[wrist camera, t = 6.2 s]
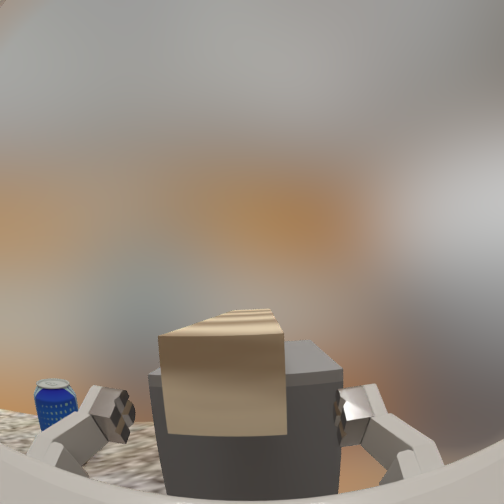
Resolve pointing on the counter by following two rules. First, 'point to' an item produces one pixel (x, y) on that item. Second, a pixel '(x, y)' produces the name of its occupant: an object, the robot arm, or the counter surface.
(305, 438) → the charcoal stand
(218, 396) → the maple bar
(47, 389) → the beer can
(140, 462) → the counter surface
